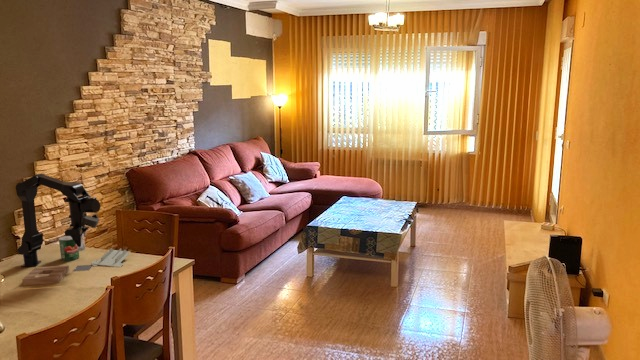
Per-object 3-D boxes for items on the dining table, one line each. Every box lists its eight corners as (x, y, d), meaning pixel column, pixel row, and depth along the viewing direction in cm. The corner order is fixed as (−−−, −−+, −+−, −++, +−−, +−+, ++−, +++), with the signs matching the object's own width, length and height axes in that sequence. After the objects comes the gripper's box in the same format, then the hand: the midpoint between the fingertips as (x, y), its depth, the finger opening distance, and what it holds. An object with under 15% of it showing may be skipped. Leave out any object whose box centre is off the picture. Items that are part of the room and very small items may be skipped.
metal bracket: (106, 244, 244) (134, 247, 241) (109, 255, 247) (137, 258, 244) (88, 262, 232) (117, 265, 229) (91, 272, 235) (120, 276, 231)
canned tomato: (68, 256, 248) (66, 234, 246) (83, 257, 246) (80, 235, 244) (57, 261, 240) (54, 239, 238) (72, 262, 239) (69, 240, 237)
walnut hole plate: (36, 273, 226) (35, 266, 225) (69, 271, 228) (68, 264, 227) (23, 286, 212) (22, 278, 211) (58, 283, 214) (57, 276, 213)
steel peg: (78, 248, 230) (76, 231, 229) (86, 248, 231) (84, 231, 229) (76, 251, 227) (74, 233, 226) (84, 250, 228) (82, 233, 226)
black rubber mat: (77, 266, 234) (77, 265, 234) (93, 265, 235) (93, 264, 235) (72, 272, 227) (72, 271, 227) (89, 271, 228) (88, 270, 228)
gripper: (89, 216, 218) (93, 251, 221) (101, 205, 236) (105, 238, 239) (62, 217, 216) (66, 252, 219) (76, 207, 234) (80, 239, 237)
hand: (80, 245), depth 229 cm, fingers closed on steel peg, 3 cm apart
